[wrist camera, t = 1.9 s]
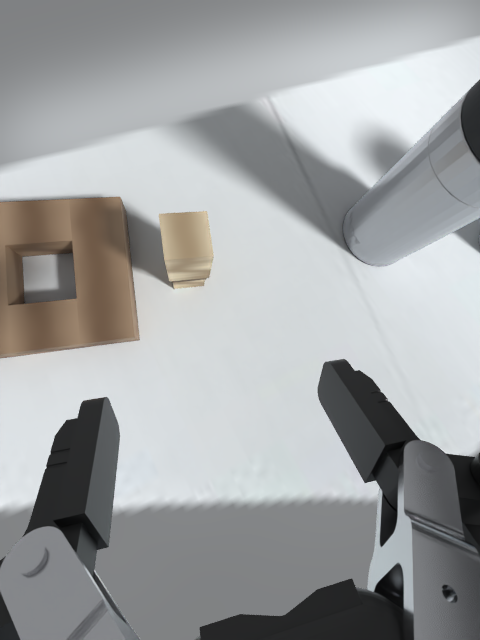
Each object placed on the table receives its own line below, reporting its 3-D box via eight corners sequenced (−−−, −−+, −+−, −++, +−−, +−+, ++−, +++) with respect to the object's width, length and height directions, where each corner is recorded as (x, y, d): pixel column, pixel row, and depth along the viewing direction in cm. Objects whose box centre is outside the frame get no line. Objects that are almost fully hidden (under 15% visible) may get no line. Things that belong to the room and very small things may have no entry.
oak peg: (202, 255, 35) (207, 211, 25) (206, 287, 34) (213, 255, 25) (167, 258, 34) (158, 214, 24) (171, 291, 34) (164, 260, 24)
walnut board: (126, 211, 34) (120, 196, 31) (139, 340, 32) (134, 337, 29) (-33, 219, 31) (-56, 204, 28) (-29, 362, 29) (-54, 361, 26)
